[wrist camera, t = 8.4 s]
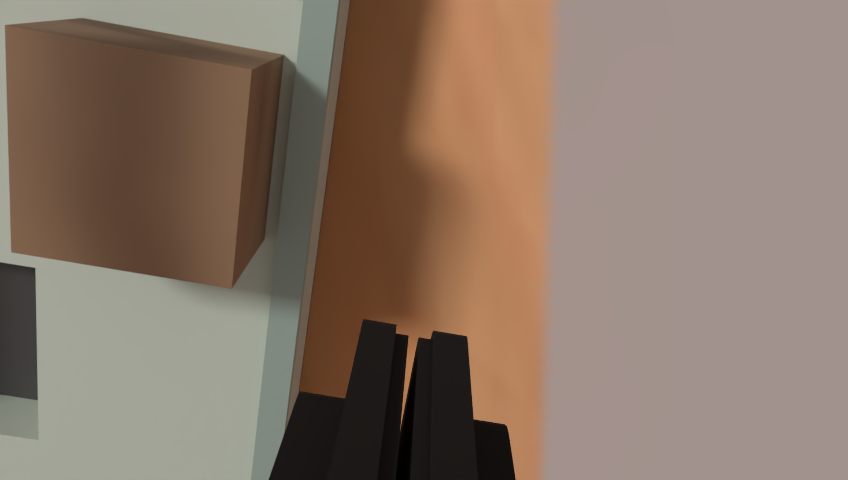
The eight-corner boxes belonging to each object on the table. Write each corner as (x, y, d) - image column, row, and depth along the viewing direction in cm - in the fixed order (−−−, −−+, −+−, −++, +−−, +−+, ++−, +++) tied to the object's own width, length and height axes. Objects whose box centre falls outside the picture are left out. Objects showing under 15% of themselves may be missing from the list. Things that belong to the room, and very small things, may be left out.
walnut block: (81, 208, 23) (11, 252, 19) (82, 17, 21) (4, 25, 17) (264, 239, 23) (231, 288, 19) (284, 54, 21) (251, 69, 17)
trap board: (-120, 472, 29) (-225, 565, 25) (-231, -501, 19) (-456, -665, 14) (280, 531, 30) (252, 631, 26) (398, -368, 19) (387, -480, 15)
